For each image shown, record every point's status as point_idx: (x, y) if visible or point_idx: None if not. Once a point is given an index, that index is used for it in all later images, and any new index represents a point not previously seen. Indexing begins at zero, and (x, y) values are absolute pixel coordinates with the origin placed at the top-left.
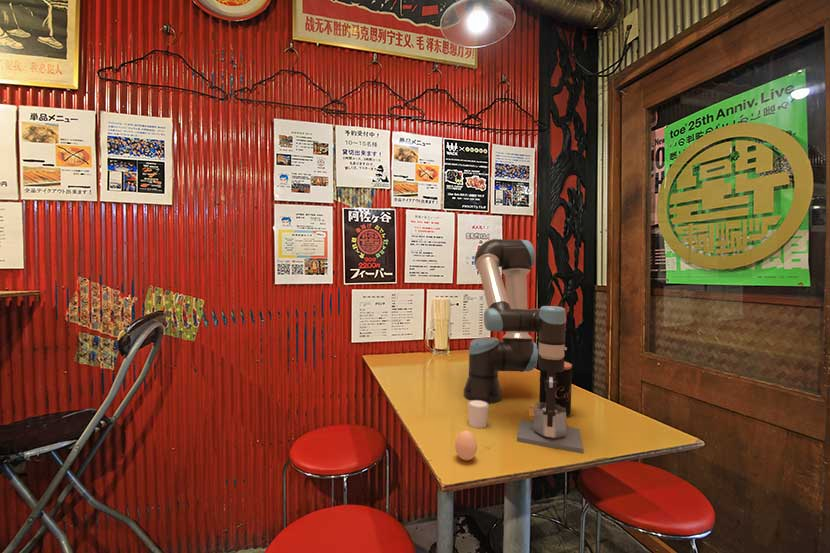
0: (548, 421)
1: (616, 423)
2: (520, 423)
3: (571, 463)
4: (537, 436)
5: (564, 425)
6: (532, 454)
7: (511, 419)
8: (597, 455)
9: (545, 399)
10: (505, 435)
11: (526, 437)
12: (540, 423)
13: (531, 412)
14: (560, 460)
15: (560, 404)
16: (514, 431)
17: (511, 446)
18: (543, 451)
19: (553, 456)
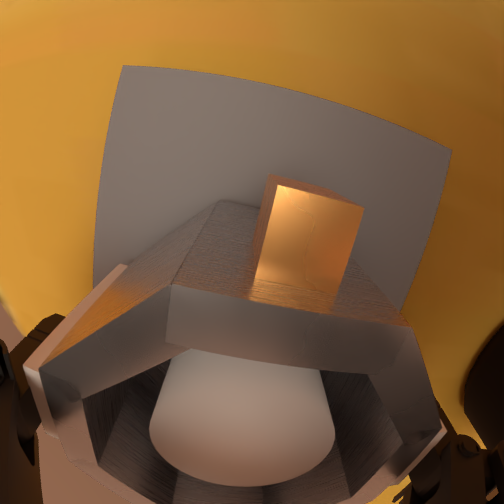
0: (26, 345)
1: (385, 498)
2: (383, 126)
3: (13, 318)
4: (163, 215)
5: None
6: (16, 160)
7: (470, 106)
8: None
9: (464, 451)
10: (210, 6)
11: (130, 130)
12: (131, 272)
13: (264, 211)
14: (13, 283)
15: (494, 425)
16: (290, 68)
17: (71, 48)
18: (52, 222)
19: (28, 261)
